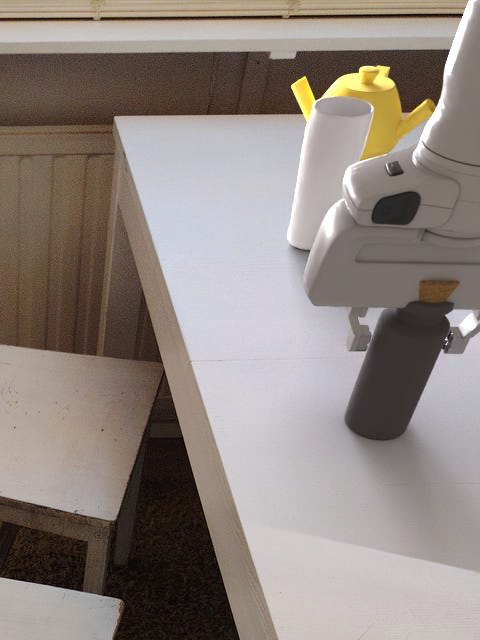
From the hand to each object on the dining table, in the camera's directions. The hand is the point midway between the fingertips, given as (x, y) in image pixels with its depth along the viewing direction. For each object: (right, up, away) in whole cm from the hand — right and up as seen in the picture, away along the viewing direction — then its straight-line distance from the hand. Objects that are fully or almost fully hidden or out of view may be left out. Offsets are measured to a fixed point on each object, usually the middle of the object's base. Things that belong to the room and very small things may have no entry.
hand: (402, 349), depth 73 cm
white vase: (+2, +24, +29) cm, 38 cm away
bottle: (0, -5, +6) cm, 8 cm away
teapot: (+14, +43, +45) cm, 64 cm away
